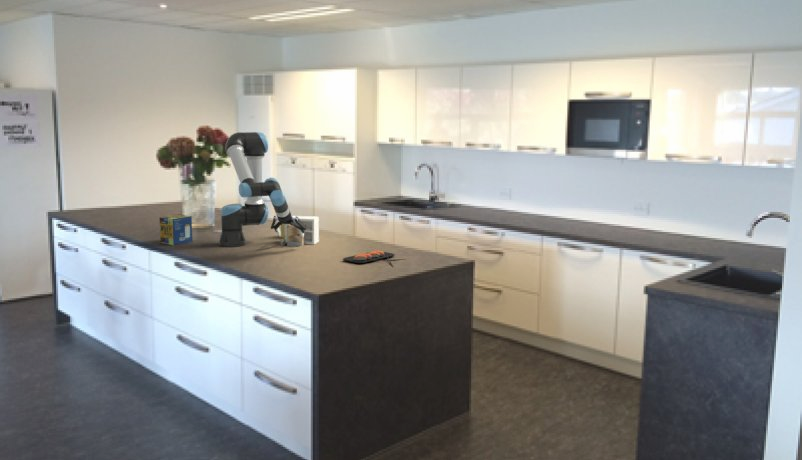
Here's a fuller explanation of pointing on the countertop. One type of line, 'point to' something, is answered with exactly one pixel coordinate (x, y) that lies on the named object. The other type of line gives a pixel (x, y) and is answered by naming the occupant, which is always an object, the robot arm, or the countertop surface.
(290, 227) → the door
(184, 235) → the protein box
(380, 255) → the sushi plate
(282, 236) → the cheese
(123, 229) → the countertop surface
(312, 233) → the cabinet
